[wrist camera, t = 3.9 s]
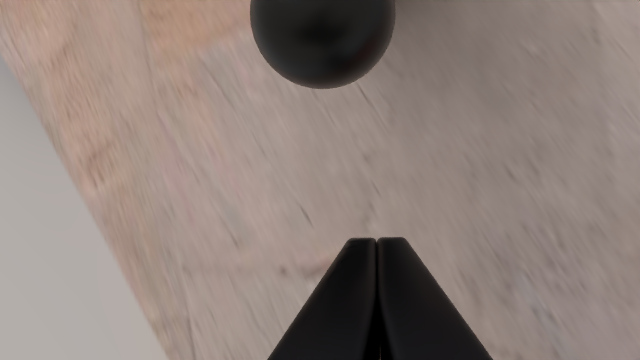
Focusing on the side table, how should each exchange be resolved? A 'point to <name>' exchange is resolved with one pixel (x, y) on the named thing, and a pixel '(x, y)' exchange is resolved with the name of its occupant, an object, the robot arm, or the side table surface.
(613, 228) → the side table surface
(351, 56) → the lever
